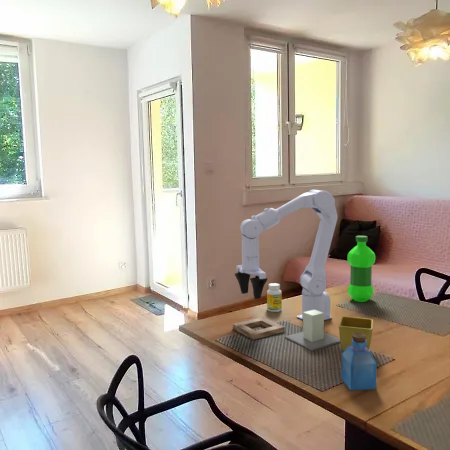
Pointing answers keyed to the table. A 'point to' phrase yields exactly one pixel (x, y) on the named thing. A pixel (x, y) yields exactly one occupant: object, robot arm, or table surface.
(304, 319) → the sage link block
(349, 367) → the perfume bottle
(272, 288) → the supplement bottle
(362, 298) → the plastic bottle
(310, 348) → the charcoal mat
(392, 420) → the table surface
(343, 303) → the table surface
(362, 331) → the flower pot
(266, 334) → the wooden square frame
